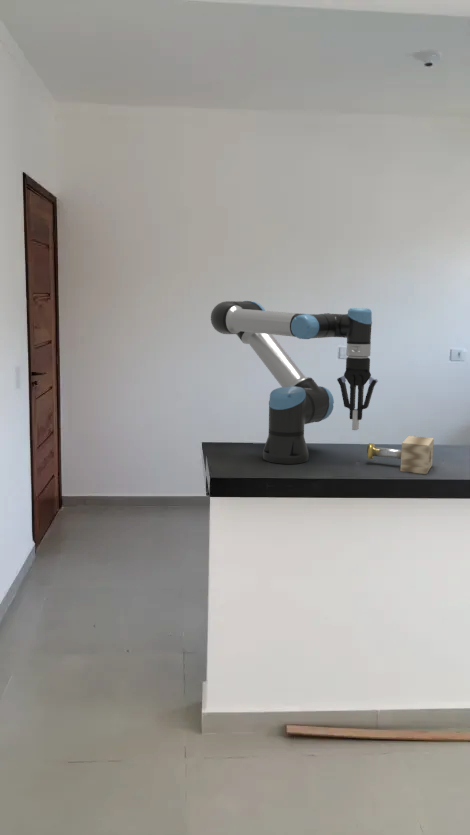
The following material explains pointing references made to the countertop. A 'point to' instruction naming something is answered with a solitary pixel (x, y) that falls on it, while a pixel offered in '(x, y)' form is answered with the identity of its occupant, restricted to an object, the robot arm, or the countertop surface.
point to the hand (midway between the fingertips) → (355, 429)
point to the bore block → (417, 454)
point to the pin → (382, 452)
